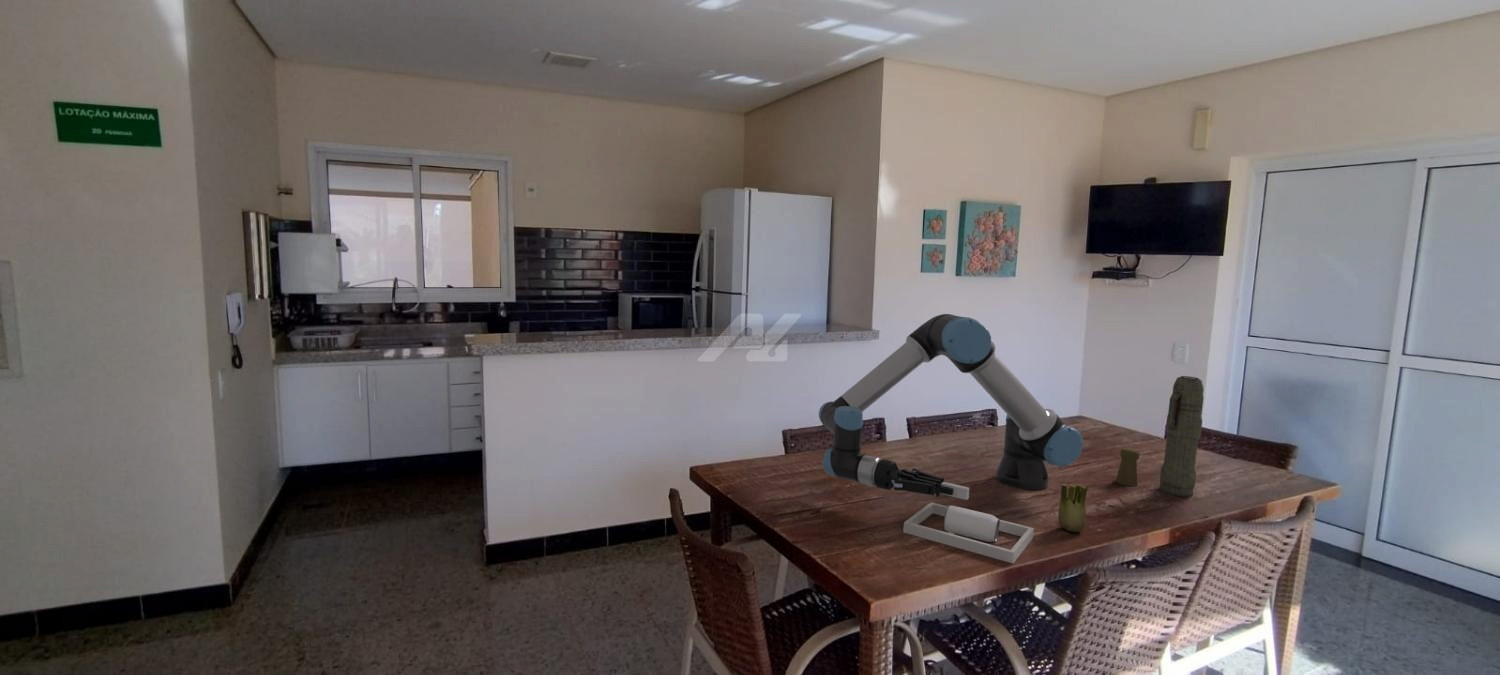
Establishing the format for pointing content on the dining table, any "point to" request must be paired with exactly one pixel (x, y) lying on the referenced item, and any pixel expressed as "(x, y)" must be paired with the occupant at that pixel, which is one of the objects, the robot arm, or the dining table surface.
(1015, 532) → the frame
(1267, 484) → the dining table surface
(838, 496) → the dining table surface
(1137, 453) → the olive tapered pillar
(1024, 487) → the robot arm
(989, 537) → the can
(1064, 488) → the fennel bulb
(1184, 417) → the thermos
